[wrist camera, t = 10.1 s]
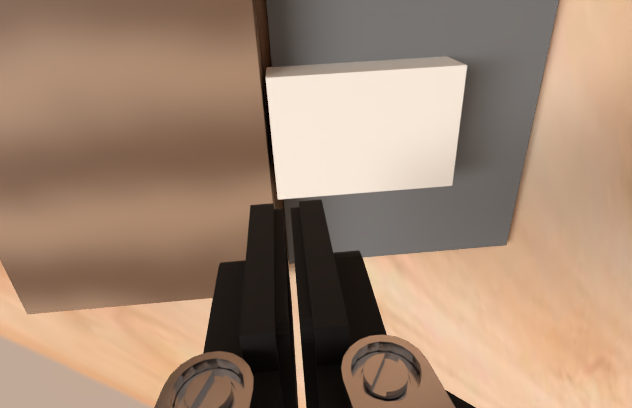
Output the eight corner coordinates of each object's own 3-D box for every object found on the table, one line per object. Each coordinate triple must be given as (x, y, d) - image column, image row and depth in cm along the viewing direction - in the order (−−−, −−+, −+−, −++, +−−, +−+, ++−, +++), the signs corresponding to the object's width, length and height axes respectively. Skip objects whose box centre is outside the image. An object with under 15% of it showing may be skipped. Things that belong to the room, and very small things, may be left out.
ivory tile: (266, 67, 20) (265, 77, 18) (446, 56, 21) (467, 65, 18) (277, 178, 23) (277, 199, 21) (435, 166, 24) (452, 185, 21)
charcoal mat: (258, -85, 18) (258, -86, 17) (574, -96, 18) (579, -98, 18) (289, 259, 26) (289, 263, 26) (503, 241, 27) (506, 245, 27)
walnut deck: (-100, -71, 17) (-170, -81, 14) (246, -84, 18) (241, -96, 15) (53, 279, 25) (27, 314, 23) (281, 260, 26) (282, 291, 24)
